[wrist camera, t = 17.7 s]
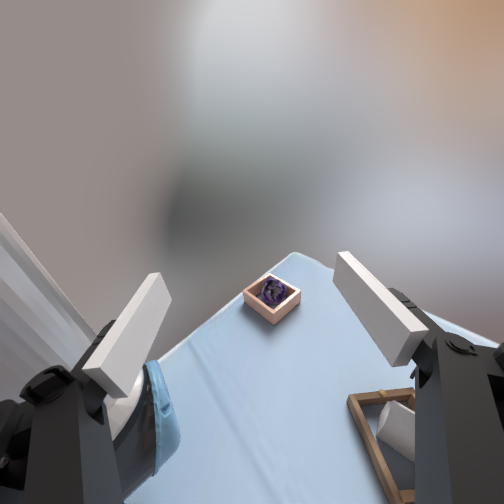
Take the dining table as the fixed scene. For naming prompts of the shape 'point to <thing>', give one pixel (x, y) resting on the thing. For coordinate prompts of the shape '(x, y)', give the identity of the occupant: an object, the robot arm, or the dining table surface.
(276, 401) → the dining table surface
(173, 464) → the dining table surface
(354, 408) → the slot rack
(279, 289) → the flower
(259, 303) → the flower planter
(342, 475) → the dining table surface
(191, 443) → the dining table surface
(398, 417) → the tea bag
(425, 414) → the robot arm
